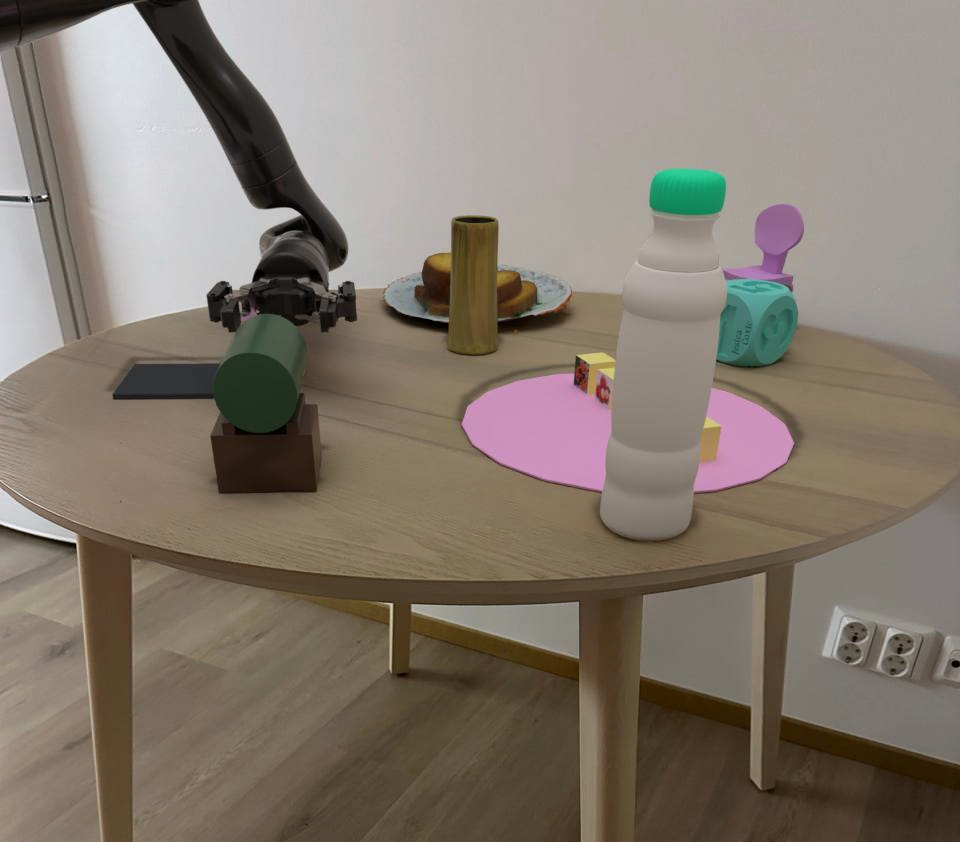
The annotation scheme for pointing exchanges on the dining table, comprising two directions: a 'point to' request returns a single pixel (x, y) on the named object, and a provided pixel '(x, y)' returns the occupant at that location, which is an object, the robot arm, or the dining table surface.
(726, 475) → the platter
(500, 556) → the dining table surface
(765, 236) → the toy chair
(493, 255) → the vase
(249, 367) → the green can
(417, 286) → the food on plate
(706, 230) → the water bottle
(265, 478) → the cradle
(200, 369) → the coaster
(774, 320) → the decorative dice
